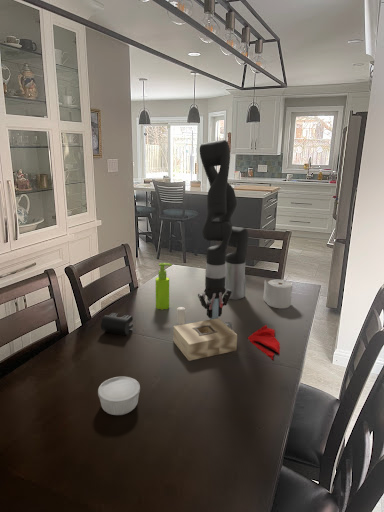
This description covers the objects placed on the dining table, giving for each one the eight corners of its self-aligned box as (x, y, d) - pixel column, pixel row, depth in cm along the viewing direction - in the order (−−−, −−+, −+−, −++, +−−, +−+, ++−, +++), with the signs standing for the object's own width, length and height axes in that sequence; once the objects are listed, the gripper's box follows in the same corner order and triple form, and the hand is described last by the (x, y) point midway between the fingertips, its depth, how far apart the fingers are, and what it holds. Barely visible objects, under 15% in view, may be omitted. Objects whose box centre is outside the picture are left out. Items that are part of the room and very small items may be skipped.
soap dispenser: (171, 310, 163) (171, 265, 158) (155, 309, 163) (154, 265, 158) (172, 304, 169) (172, 261, 164) (156, 304, 169) (156, 261, 164)
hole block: (217, 332, 144) (218, 317, 143) (236, 350, 132) (237, 334, 130) (173, 341, 137) (173, 325, 135) (188, 360, 125) (189, 343, 123)
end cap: (101, 334, 141) (100, 318, 139) (110, 326, 148) (110, 310, 146) (125, 339, 138) (124, 322, 136) (134, 331, 145) (133, 314, 143)
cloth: (252, 324, 153) (252, 319, 153) (287, 329, 149) (288, 324, 149) (241, 356, 129) (241, 350, 129) (282, 364, 125) (282, 357, 125)
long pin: (215, 323, 150) (216, 295, 146) (219, 327, 147) (220, 298, 144) (208, 325, 148) (209, 296, 145) (212, 328, 146) (213, 299, 142)
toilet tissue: (291, 309, 166) (293, 288, 164) (263, 307, 168) (265, 286, 165) (289, 300, 177) (291, 280, 174) (263, 298, 178) (264, 278, 176)
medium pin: (183, 324, 151) (183, 306, 149) (186, 327, 148) (186, 309, 146) (175, 325, 149) (175, 307, 147) (178, 328, 147) (178, 311, 145)
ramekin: (122, 387, 111) (121, 371, 109) (149, 403, 104) (148, 386, 103) (90, 406, 103) (89, 389, 101) (117, 425, 96) (116, 407, 94)
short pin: (229, 333, 144) (229, 321, 142) (233, 337, 141) (234, 325, 139) (221, 335, 142) (222, 323, 141) (225, 339, 140) (226, 326, 138)
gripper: (227, 269, 148) (225, 310, 153) (194, 273, 142) (193, 315, 147) (237, 275, 141) (234, 317, 146) (202, 279, 136) (201, 323, 140)
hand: (214, 316), depth 146 cm, fingers closed on long pin, 3 cm apart
